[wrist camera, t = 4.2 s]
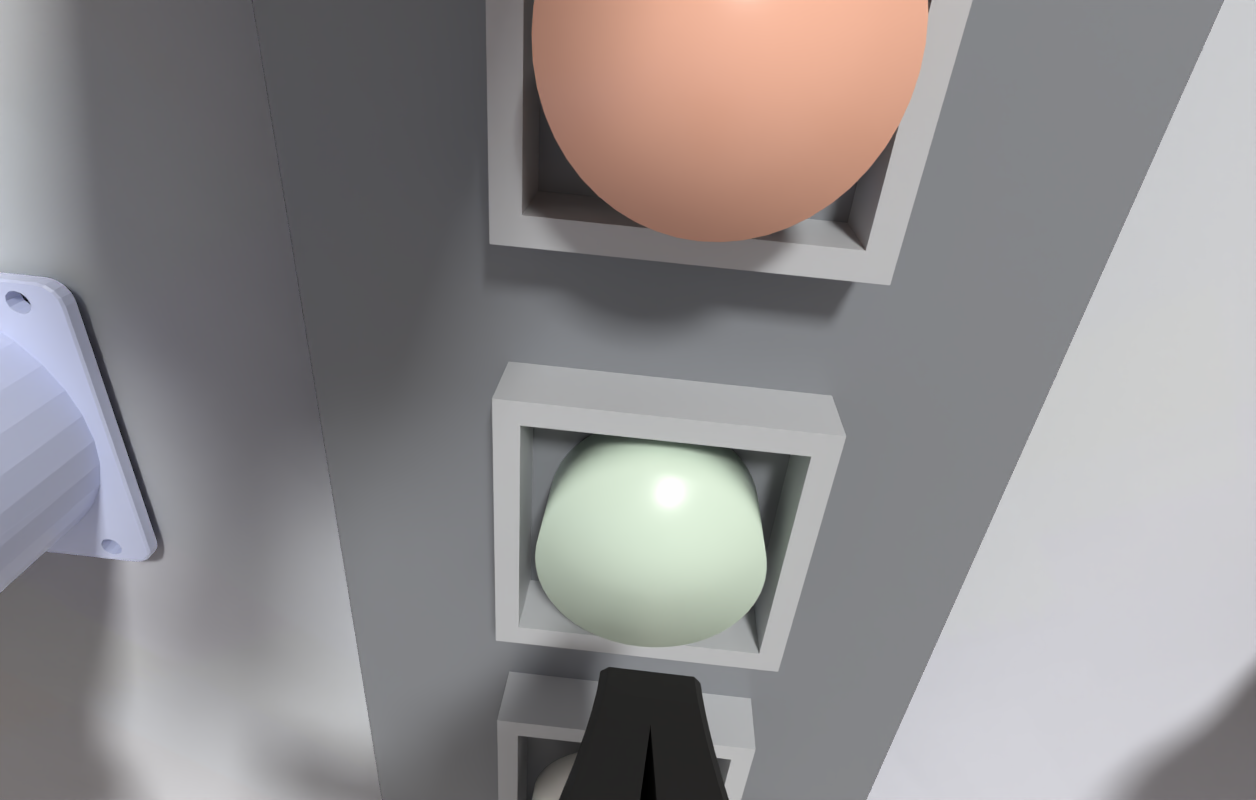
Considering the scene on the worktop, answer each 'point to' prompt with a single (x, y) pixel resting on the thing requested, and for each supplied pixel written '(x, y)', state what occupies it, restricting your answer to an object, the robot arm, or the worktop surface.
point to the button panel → (686, 366)
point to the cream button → (553, 779)
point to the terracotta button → (725, 103)
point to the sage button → (651, 540)
